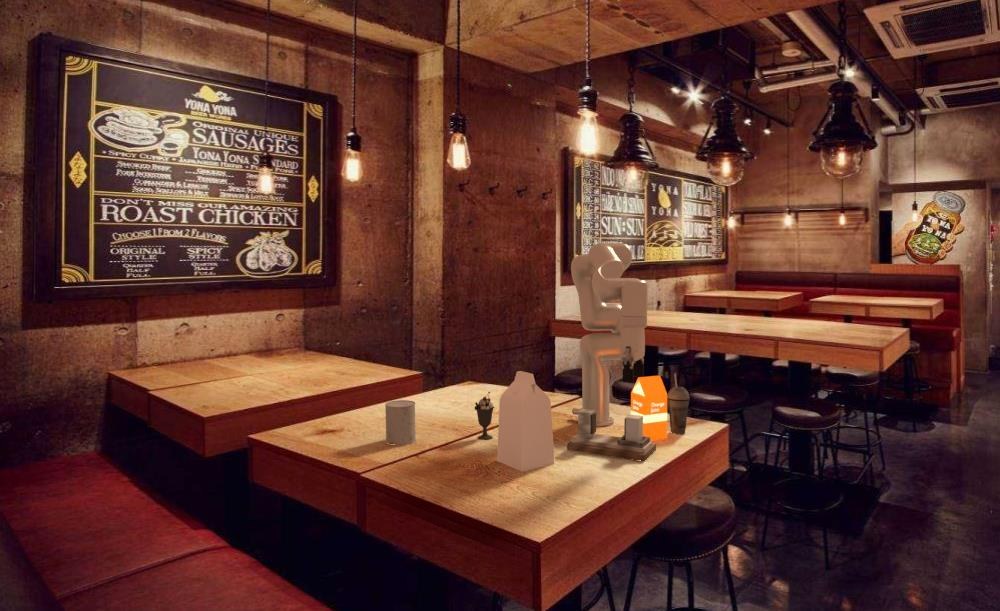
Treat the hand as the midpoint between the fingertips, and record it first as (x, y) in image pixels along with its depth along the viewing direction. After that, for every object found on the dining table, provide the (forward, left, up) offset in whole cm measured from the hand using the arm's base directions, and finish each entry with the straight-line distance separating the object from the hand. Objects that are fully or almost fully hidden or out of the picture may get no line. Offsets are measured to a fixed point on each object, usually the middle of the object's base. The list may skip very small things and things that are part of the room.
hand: (633, 379), depth 188 cm
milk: (-25, -22, -23) cm, 40 cm away
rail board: (-7, 0, -22) cm, 23 cm away
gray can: (-70, -22, -23) cm, 77 cm away
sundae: (-48, -6, -23) cm, 53 cm away
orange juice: (-1, +19, -23) cm, 29 cm away
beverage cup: (+6, +29, -23) cm, 37 cm away
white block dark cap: (+1, 0, -19) cm, 19 cm away
